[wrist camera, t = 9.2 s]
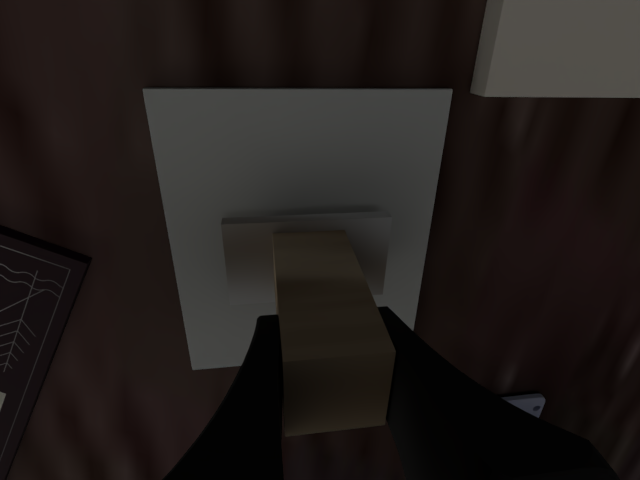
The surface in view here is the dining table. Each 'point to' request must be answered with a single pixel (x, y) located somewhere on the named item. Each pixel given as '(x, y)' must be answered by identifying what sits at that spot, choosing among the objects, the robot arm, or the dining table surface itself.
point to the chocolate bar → (30, 325)
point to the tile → (559, 49)
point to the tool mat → (290, 185)
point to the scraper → (320, 311)
